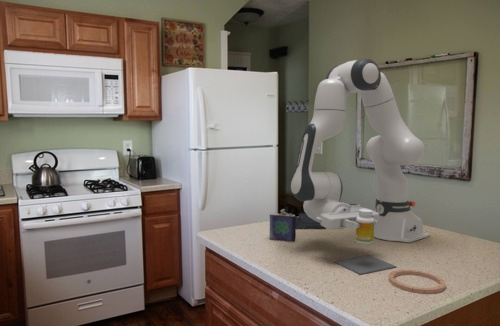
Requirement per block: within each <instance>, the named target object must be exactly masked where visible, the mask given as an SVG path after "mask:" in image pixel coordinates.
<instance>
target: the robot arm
mask: <svg viewBox="0 0 500 326" xmlns="http://www.w3.org/2000/svg"><path fill="white" fill-rule="evenodd" d="M355 93H358V95H360V97H361V100H362V105H363V108H364V110H365V111H364V112H365V114H366V117H367V120H368V123H369V127H371V128H372V129H373V130H374V131H376V132H377V134H378V135H375V136H373V137H371V138H370V139H369V140H368V141H367V142H366V150H365V151H366V154H367V155H368V157H369V158H370V160H371V162H372V164H373V167H374V170H375V174H376V175H375V176H376V186H377V187H376V199H375V204H374V205H375V207H374V208H375V210H372V209H371V208H366V207H362V205H360V204H359V203H346V202H343V201H341V198H342V195H343V191H344V190H343V189H344V188H343V182H342V178H341V177H340V176H339V174H337V173H336V172H333V171H312V169H313V166H314V165H313V164H314V159H315V154H316V150H317V147H318V146H319V145H320V144H321V143H322V142H324V141H325V140H327V139H331V138H333V137H335V136H336V135H338V134H339V133H341V132H342V131H343V129H344V128H345V126H346V121H347V99H348V97H349V95H350V94H355ZM313 104H314V106H313V115H312V119H311V121H310V123H309V124H307V125H306V127H304V129H303V133H302V136H301V140H300V146H299V150H298V154H297V155H298V156H297V159H296V164H295V169H294V172H293V175H292V177H291V180H290V184H289V185H290V186H289V187H290V192H291V194H292V196H294V197H295V198H296V199H297V200H298V201H299V202H303V205H302V207H303V211H304V214H307V216H308V217H310V218H311V219H313V220H315V221H317V222H320V225H322V226H323V227H325V228H326V229H327V230H343V229H349V228H351V229H355V230H356V229H358V228H360V223H359V222H356V218H357V217H358V216H359V210H360V209H368V210H372V216H371V217H372V218H374V238H376V239H380V240H384V241H390V242H391V241H392V242H403V243H412V242H415V241H419V240H421V239H424V238H428V237H430V236H431V235H430V233H429V232H428V231H426V230H424V222H423V220H422V219H421V218H420V216H418V215H417V214H415V213H414V211H412V209H411V207H413V208H414V207H416V202H415V201H412V200H408V194H409V180H408V179H407V178H408V177H406V176H405V175H404V173H403V171H402V168H401V166H412V165H413V166H414V165H416V164H419V163H420V162H421V161H422V160H423V158H424V156H425V152H426V151H425V150H426V149H425V145H424V142H423V141H422V140H421V139H419V138H418V137H417V136H415V134H414V133H413V132H412V131H411V130H410V128H409V127H408V126H407V124H406V123H405V121H404V120H403V117H402V116H401V113H400V110H399V108H398V104H397V101H396V98H395V95H394V93H393V90H392V87H391V84H390V82H389V80H388V79H387V76H386V74H384V73H383V72H381V70H380V67H379V66H378V64H377V63H376V62H375V61H374V60H373V59H370V58H359V59H355V60H354V59H353V60H349V61H346V62H345V63H342V64H339V65H336V66H333V67H332V68H330V70H328V72H327V74H326V75H325V79H323V80H322V81H320V82H319V83H318V86H317V89H316V93H315V98H314V103H313Z"/></svg>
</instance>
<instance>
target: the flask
mask: <svg viewBox="0 0 500 326" xmlns="http://www.w3.org/2000/svg"><path fill="white" fill-rule="evenodd" d="M285 210H286V209H285V208H282V209H281V210H279V211H280V213H270V214H269V240H271V241H279V240H280V242H282V241H283V242H291V243H293V242H294V241H295V242H296V237H297V236H296V234H297V233H296V230H297V229H296V217H297V216H296V215H295V214H292V213H288V212H286V211H285Z"/></svg>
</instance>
